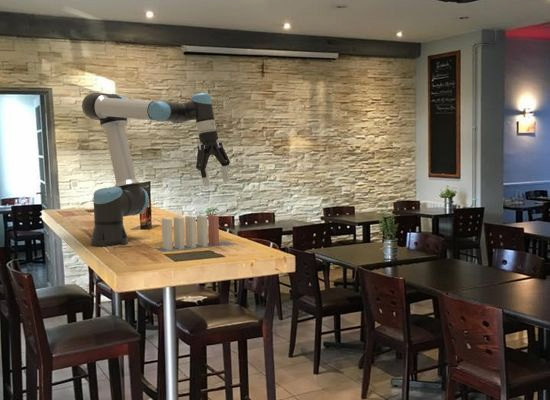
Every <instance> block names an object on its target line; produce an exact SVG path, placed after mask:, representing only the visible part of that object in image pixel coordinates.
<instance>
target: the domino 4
mask: <svg viewBox="0 0 550 400" xmlns="http://www.w3.org/2000/svg"><path fill="white" fill-rule="evenodd" d="M208 243H209V240H208V215H207V216H206V215H202V214H201V215H200V214H198V215H196V244H197V245H200V246H203V247H206V246H208Z"/></svg>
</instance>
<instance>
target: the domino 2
mask: <svg viewBox="0 0 550 400" xmlns="http://www.w3.org/2000/svg"><path fill="white" fill-rule="evenodd" d="M184 245H185V218H184V217H180V216H174V217H173V246H174V247H176V248H178V249H184Z"/></svg>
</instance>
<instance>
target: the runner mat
mask: <svg viewBox="0 0 550 400" xmlns="http://www.w3.org/2000/svg"><path fill="white" fill-rule="evenodd" d="M235 245H237V244H236V243H234V242H230V241H226V240H223V241H219V245H216V246H215V245H211V244H209V242H208V246H206V247H203V246H200V245H197V243H196V248H191V247H188V246H186V244H184V249H178V248H176V247H174V245H172V250H166V249H163V248H162V247H154V248H153V249H154V250H156V251H159V252H161V253H165V252H166V253H167V252H175V251H187V250H195V249H205V248H214V247H215V248H216V247H222V246H223V247H225V246H235Z"/></svg>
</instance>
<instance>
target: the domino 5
mask: <svg viewBox="0 0 550 400" xmlns="http://www.w3.org/2000/svg"><path fill="white" fill-rule="evenodd" d="M219 218H220V217H219V215H216V214H208V215H207V234H208V243H209V244H211V245H215V246H216V245H219V242H220V238H219V237H220V227H219V226H220V225H219V224H220V223H219V221H220V220H219Z"/></svg>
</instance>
